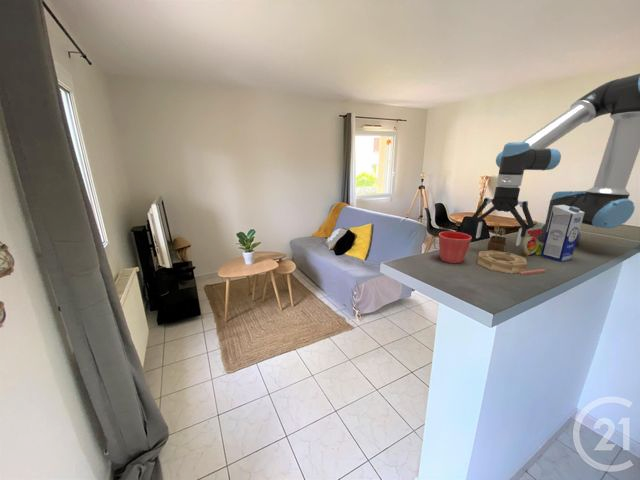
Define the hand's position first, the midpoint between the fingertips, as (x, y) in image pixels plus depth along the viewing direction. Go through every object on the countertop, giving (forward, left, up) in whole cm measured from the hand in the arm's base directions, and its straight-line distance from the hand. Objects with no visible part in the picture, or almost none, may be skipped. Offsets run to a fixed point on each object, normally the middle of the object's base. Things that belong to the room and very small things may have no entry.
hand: (496, 241), depth 104 cm
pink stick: (+4, +19, -5) cm, 20 cm away
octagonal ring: (+8, +10, -5) cm, 14 cm away
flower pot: (+21, +1, -6) cm, 21 cm away
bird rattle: (-13, +4, -6) cm, 15 cm away
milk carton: (-19, +9, -6) cm, 22 cm away
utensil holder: (0, 0, -6) cm, 6 cm away
